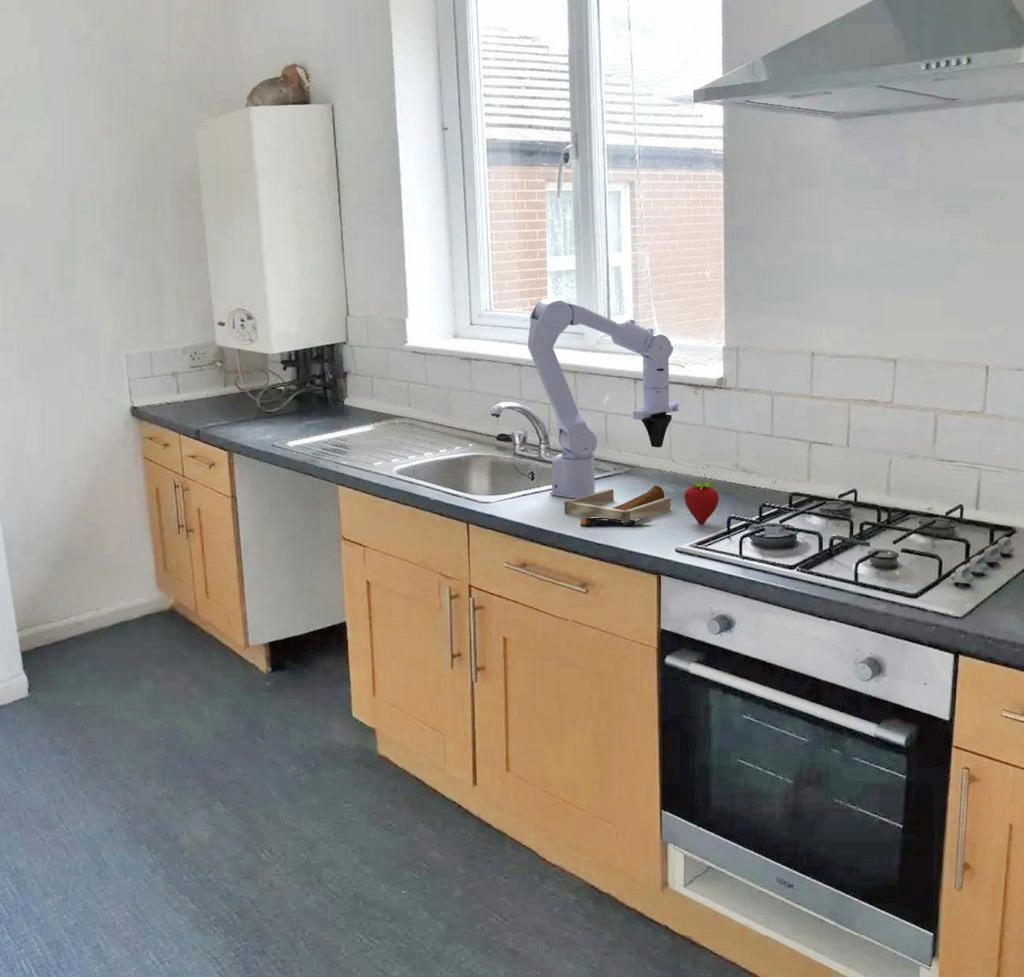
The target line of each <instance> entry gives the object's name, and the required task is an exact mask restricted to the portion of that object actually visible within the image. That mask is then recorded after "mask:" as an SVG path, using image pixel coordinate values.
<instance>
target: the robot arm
mask: <svg viewBox="0 0 1024 977" xmlns="http://www.w3.org/2000/svg"><path fill="white" fill-rule="evenodd" d="M529 322H530V323H529V324H530V325H529V332H528V339H527V349H528V351H529V353H530V355H531V358H532V361H533V363H534V366H535V368H536V371H537V373H538V376H539V378H540V380H541V383H542V385H543V388H544V390H545V392H546V395H547V397H548V400H549V402H550V405H551V407H552V409H553V412H554V414H555V416H556V427H557V429H558V443H559V445H560V447H561V448H562V452H561V453H559V454H557V455H556V456H554V458H553V460H552V462H551V490H552V491H550V492H549V495H553V496H559V497H564V498H570V499H576V498H579V497H583V496H586V495H589V494H593V493H596V492H599V491H602V490H599V489H595V488H596V484H595V451H596V448H597V444H598V440H597V436H596V435H595V433H594V432H593V431H592V430H590V428H589V427H588V426H587V423H586V421H585V420H584V418H583V417H582V415H581V414H580V412H579V410H578V408H577V404H576V402H575V400H574V397H573V395H572V392H571V389H570V387H569V384H568V382H567V379H566V377H565V375H564V372H563V370H562V367H561V365H560V362H559V359H558V357H557V355H556V351H555V350H554V346H555V344H556V342H557V340H558V338H559V336H560V335H561V334H562V333H563V332H564V331H565V330H566V329H567V327H569V326H578V325H582V326H585V327H587V328H590V329H593V330H596V331H599V332H601V333H604V334H606V335H608V336H610V338H611V340H612V343H613V344H614V345H617V346H619V347H621V348H624V349H626V350H628V351H631V352H632V353H633V352H634V353H636V354H639V355H640V356H641V357H642V364H643V365H642V380H643V381H642V382H643V383H642V385H643V386H642V387H643V388H642V390H643V393H642V394H643V395H642V396H643V406H642V407H640V408H638V409H634V410H633V411H632V412H633V413H632V416H633V419H632V420H639V421H641V422H642V423H643V425H644V427H645V429H646V431H647V435H648V438H649V441H650V446H651V447H652V448H662V447H663V444H664V439H665V435H666V432H667V429H668V426H669V425H670V422H671V421H672V419H673V418H672V417H673V416H672V415H671V414H668V413H673V412H679V411H680V410H679V407H680V406H679V402H674V401H673V402H670V389H669V388H670V384H669V383H670V382H669V380H670V379H669V378H670V376H669V375H670V372H669V370H670V366H669V358H670V357H671V355H672V354H673V351H674V346H673V345H672V342H671V340H670V339H669V338H668V336H666V335H664V334H660V333H655V332H654V329H653V328H650V327H648V328H646V327H643V326H641V325H638V324H636V321H635V320H634V319H631V318H628V319H621V320H619V321H617V322H616V321H614V320H612V319H610V318H607V317H606V316H603V315H602V314H600V313H597V312H595V311H593V310H590V309H589V308H586V307H584V306H582V305H578V304H575V303H574V304H572V303H570V302H566V301H564V300H560V299H559V300H556V299H555V300H554V299H550V298H545V299H541V300H540V301H538V302H537V303H536V305H535V306H534V308H533V309H532V312H531V313H530V315H529Z"/></svg>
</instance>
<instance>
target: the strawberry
mask: <svg viewBox="0 0 1024 977" xmlns="http://www.w3.org/2000/svg"><path fill="white" fill-rule="evenodd" d="M705 477H706V474H704V475H703V480H702V483H701V482H689V483H690V485H689V487H688V488H687V489H685V491H684V496H683V499H684V502H685V506H686V507H687V509H688V511H689V512H690V514H691V516H692V517H693V518H694V519H695V520H696V522H697V523H698V524H699V525H703V524H705V523H706V521H707V520H708V519H709V518H710V517H711V516H712V515H713V513H714V512H715V511H716V509H717V508H718V504H719V500H720V498H719V496H720V495H719V493H718V492H717V490H716V489H714V488H716V486H714V485H715V483H714V482H705V483H703V482H704V480H705Z"/></svg>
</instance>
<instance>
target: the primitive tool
mask: <svg viewBox="0 0 1024 977" xmlns="http://www.w3.org/2000/svg"><path fill="white" fill-rule="evenodd" d="M662 498H665V491H664V489H663V488H662V487H661V486H659V485H654V486H652V487H651V488H650V490H648V491H646V492H645V493H642V494H641V495H638V496H637V497H634V498H633V499H630V500H628V501H626V502H624V503H622V504H619V505H616V506H614V507H612V508H613V509H619V510H628V509H632V508H635V507H638V506H641V505H644V504H647V503H650V502H653V501H656V500H659V499H662Z"/></svg>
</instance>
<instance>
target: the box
mask: <svg viewBox="0 0 1024 977" xmlns="http://www.w3.org/2000/svg"><path fill="white" fill-rule="evenodd" d="M614 494H615V492H614V489H613V488H607V489H604V490H601V491H599V492H596V493H593V494H589V495H586V496H583V497H579V498H571V499H569V500H566V501H564V502H563V503H564V514H566V515H570V516H577V517H583V518H587V517H598V518H609V519H617V520H622V521H623V522H624V523H625V524H624V525H626V523H627V522H629V521H630V520H634V519H642V520H644V519H647V518H648V519H649V518H650V517H653V516H657V515H659V514H662V513H665V512H668V511H671V497H664V498H662V499H659V500H656V501H653V502H650V503H647V504H644V505H641V506H638V507H635V508H632V509H628V510H619V509H613V508H614V507H612V508H611V507H608V506H607V507H606V506H601V505H603V504H604V505H605V504H606V503H610V502H613V501H615V500H614V499H615V498H614Z"/></svg>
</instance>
